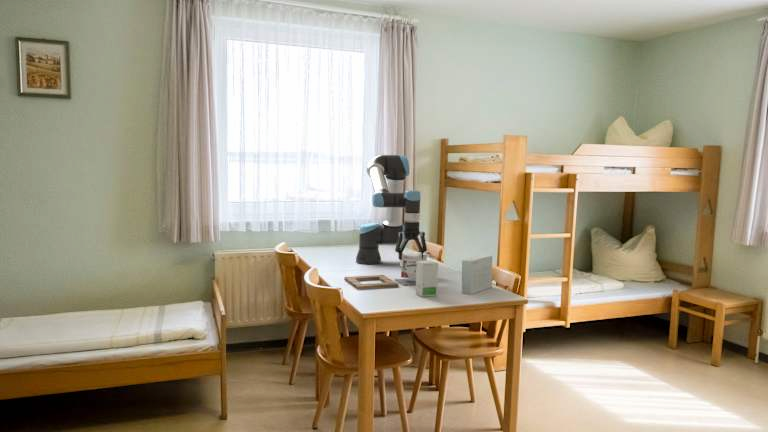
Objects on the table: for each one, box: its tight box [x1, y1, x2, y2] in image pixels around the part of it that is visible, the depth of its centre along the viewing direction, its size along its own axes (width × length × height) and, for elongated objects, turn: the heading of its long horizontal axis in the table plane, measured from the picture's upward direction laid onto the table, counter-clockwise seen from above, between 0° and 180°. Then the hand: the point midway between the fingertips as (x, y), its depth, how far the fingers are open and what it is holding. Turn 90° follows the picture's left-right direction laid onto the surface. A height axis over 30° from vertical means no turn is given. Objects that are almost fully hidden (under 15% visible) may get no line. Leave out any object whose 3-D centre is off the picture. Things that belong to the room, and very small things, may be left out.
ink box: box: [400, 252, 420, 279], centre depth 271 cm, size 9×5×12 cm, turn 70°
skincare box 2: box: [461, 254, 493, 296], centre depth 259 cm, size 21×6×16 cm, turn 141°
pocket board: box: [344, 274, 399, 291], centre depth 267 cm, size 21×21×2 cm
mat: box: [394, 278, 416, 287], centre depth 272 cm, size 12×12×1 cm
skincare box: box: [415, 260, 439, 298], centre depth 247 cm, size 8×7×16 cm
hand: (410, 265), depth 271 cm, fingers closed on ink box, 9 cm apart
